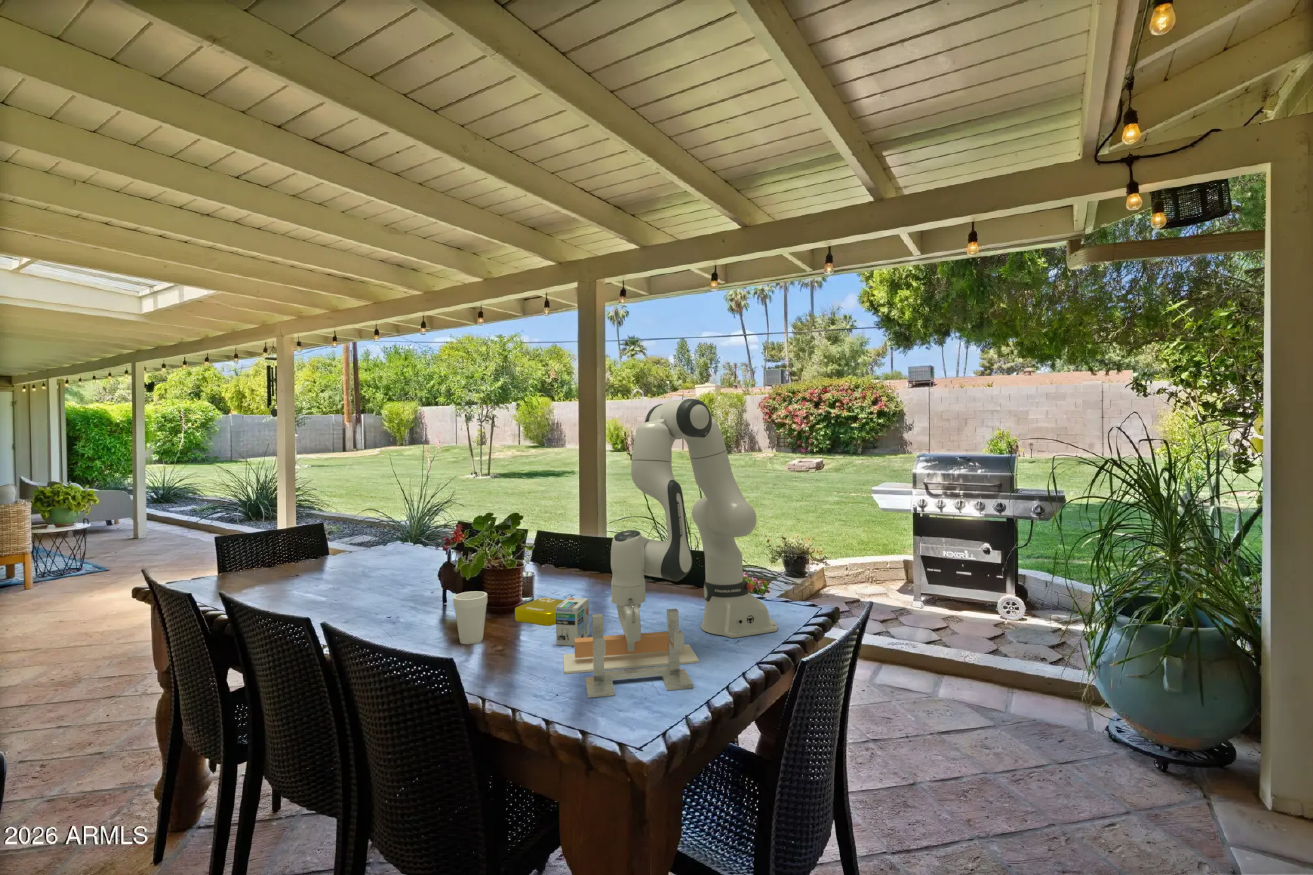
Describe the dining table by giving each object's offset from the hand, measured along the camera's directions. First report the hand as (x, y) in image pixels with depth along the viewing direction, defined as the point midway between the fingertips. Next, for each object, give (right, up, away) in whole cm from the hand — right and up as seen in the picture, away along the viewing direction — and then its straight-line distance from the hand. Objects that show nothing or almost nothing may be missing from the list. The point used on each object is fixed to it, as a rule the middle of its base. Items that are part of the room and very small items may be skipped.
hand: (629, 647), depth 158 cm
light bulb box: (-17, -4, +16) cm, 24 cm away
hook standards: (+3, -3, -17) cm, 17 cm away
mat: (0, -3, 0) cm, 3 cm away
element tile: (-29, -4, +39) cm, 49 cm away
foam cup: (-46, -4, +17) cm, 50 cm away
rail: (0, -1, 0) cm, 1 cm away
